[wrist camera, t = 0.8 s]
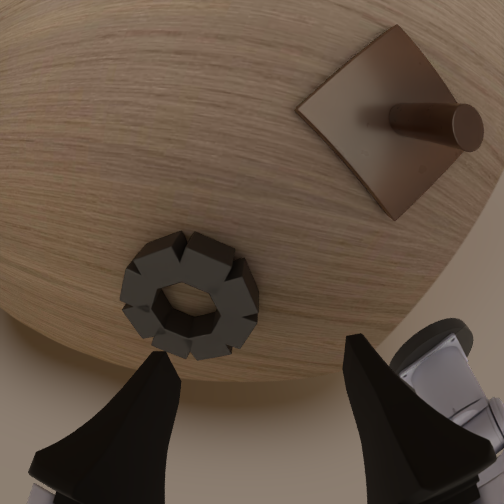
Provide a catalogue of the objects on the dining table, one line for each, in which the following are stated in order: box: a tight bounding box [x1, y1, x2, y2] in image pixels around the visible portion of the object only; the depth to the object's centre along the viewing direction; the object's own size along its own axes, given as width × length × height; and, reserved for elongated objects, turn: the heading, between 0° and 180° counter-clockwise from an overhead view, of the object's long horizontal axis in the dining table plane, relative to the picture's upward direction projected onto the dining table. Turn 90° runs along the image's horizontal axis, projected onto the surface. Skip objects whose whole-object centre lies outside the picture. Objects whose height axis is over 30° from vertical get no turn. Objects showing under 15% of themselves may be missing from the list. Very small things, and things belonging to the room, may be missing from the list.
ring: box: [120, 231, 259, 360], centre depth 19 cm, size 9×9×2 cm
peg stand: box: [294, 24, 484, 221], centre depth 11 cm, size 9×9×7 cm
